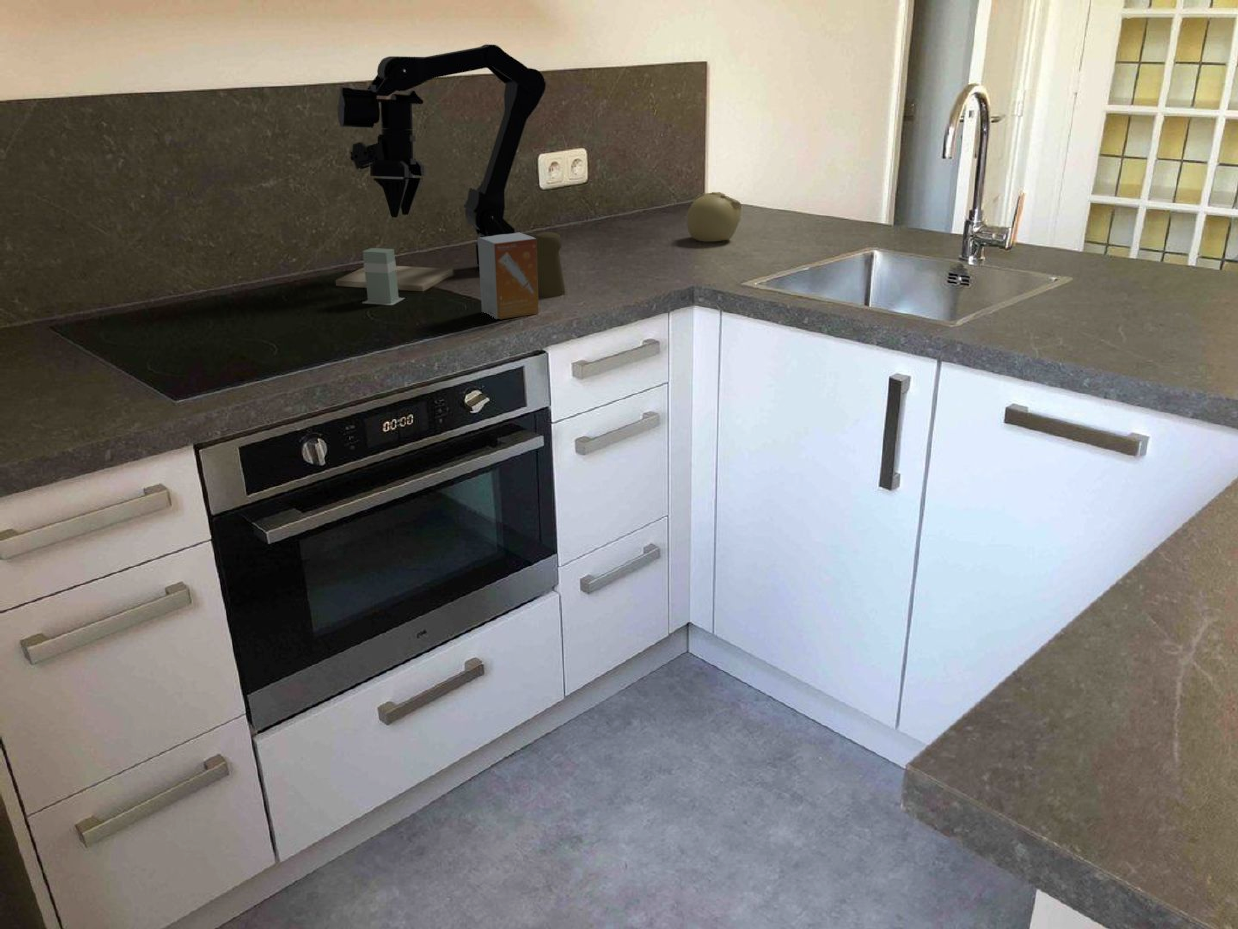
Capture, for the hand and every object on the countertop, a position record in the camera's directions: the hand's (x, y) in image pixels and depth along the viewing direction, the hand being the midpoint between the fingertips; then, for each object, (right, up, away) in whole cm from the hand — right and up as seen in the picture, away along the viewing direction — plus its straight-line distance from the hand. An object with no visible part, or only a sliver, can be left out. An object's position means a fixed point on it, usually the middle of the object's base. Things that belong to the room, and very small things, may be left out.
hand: (400, 215), depth 188 cm
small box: (+23, -21, -18) cm, 36 cm away
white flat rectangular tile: (-1, -18, -10) cm, 21 cm away
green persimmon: (+63, +4, +39) cm, 74 cm away
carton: (-1, -18, -10) cm, 20 cm away
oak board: (-2, -11, +4) cm, 12 cm away
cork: (+29, -16, -5) cm, 33 cm away
